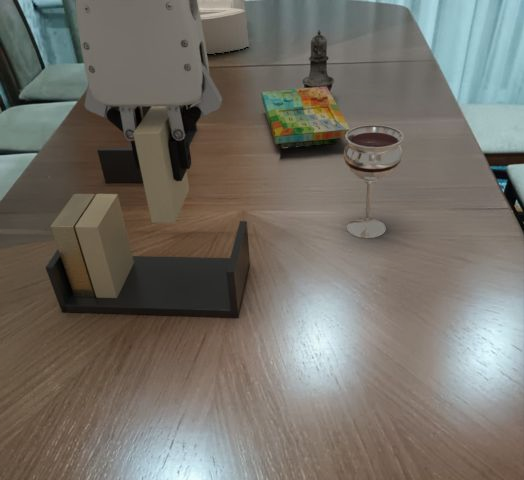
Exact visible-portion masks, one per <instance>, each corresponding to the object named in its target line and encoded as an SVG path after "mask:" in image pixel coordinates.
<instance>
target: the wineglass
mask: <svg viewBox="0 0 524 480" xmlns="http://www.w3.org/2000/svg"><path fill="white" fill-rule="evenodd" d="M345 137H346V138H345V140H346V142H347V143H346V144H345V146H344V150H343V160H344V162H345V165H346V167H347V168H346V169H347V170H349V172H351V174H353V175H354V176H355V177H356V178H358V179H360V180H363V181H364V183H366V195H365V196H366V199H365V217H361V218H355V219H353V220H351V221H350V222H349V223H348V224H347V226H346V230H347V232H348V233H349V234H350V235H352V236H353V237H356V238H362V239H375V238H378V237H380V236H382V235H384V234H385V232H386V230H387V228H386V225H385V224H384V223H383V222H382V221H380V220H378V219H375V218H370V213H371V204H372V198H373V189H374V184H375V183H376V182H377V181H381V180H383V179H386V178H387V177H389V176H390V175H391V174H392V173H394V172H395V171H396V170H397V169H398V167H399V165H400V163H401V161H402V158H403V157H402V155H403V147H402V145H401V143H402V142H403V140H404V137H405V136H404V133H403V132H402V131H401V130H399V129H398V128H395V127H392V126H389V125H383V124H365V125H359V126H355V127H353V128H350V130H349V131H348V132H346V135H345Z"/></svg>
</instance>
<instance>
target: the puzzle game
mask: <svg viewBox="0 0 524 480" xmlns="http://www.w3.org/2000/svg"><path fill="white" fill-rule="evenodd" d="M260 95H261V102H262V105H263V109H264V112H265V116H266V118H267V122H268V126H269V128H270V131H271V135H272V137H273V142H274V144H275V145H277V146H280V149H282V148H283V147H294V148H299V147H298V146H305V147H311V146H310V145H316V146H322V145H321V144H327V145H335V144H336V143H338V142H339V141H340V140H341V139H346V137H345V135H346V132H348V131H349V130H350V129H351V127H350V126H349V124H348V123H347V120H346V119H345V117H344V116H343V114H342V111H341V110H340V108H339V106H338V104H337V103H336V100H335V99H334V97H333V95H332V93H331V91H330V92H329V90H328V88H327V86H324V87H313V88H304V87H301V88H291V89H280V90H267V91H261V92H260ZM296 146H297V147H296ZM283 149H284V148H283Z"/></svg>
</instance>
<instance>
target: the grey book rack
mask: <svg viewBox="0 0 524 480" xmlns="http://www.w3.org/2000/svg"><path fill="white" fill-rule="evenodd" d="M190 105H191V104H190ZM190 105H187V106H188V108H189V107H190ZM151 107H152V106H142V111H143V118H144V117H145V115H146V114H147V112H148V111H149V109H150V108H151ZM197 132H198V124H197V122H196V124H195V125H194V126H193V127H192V128H191V130H190V131H189V132H188V133H187V134H188V141H189V147H190V146H191V143H192V142H193V139H194V137H195V135H196V133H197ZM96 151H97V155H98V160H99V164H100V168H101V172H102V175H103V180H104V182H105V184H138V185H139V184H143V185H144V183H143V178H142V174H141V169H137V167H136V164H135V159H134V154H133V150H132V145H131V144H130V146H129V147H98V148H97V150H96Z"/></svg>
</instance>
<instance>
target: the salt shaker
mask: <svg viewBox="0 0 524 480" xmlns="http://www.w3.org/2000/svg"><path fill="white" fill-rule="evenodd" d="M316 33H317V34H316V35H315V36H313V37H312V38H311V40H310V56H309V57H308V61H309V63H310V65H309V68H310V69H309V74H308V76H306V77H305V78H303V79H302V80H301V82H302V84H303V88H313V87H324V86H327V88H328V90H329V92H330V93H331V90H332V88H333V84H334V82H335V79H334V77H331V76H329V75H328V71H327V69H328V67H327V64H328V60H329V56H327V51H328V40H327V38H326V37H325V36H324V35H322V32H321V30H320V29H318V30H317V32H316Z"/></svg>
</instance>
